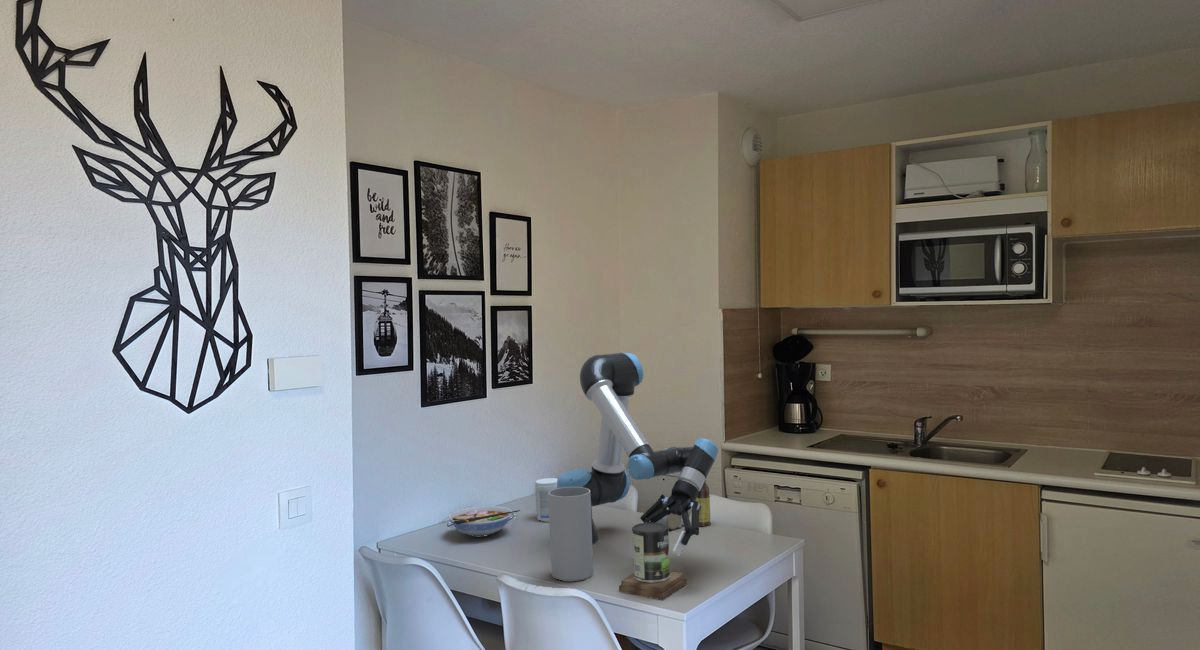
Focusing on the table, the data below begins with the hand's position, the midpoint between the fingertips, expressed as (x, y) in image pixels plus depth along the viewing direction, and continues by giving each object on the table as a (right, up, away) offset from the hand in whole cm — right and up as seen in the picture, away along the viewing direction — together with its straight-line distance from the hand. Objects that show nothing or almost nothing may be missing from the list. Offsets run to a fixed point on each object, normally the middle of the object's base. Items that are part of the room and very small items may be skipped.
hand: (657, 549), depth 223 cm
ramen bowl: (-58, -11, +58) cm, 83 cm away
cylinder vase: (-24, -11, +12) cm, 29 cm away
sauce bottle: (+20, -8, +60) cm, 64 cm away
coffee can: (-1, -8, -1) cm, 8 cm away
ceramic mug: (+9, -9, +59) cm, 60 cm away
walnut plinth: (-1, -10, -1) cm, 11 cm away
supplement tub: (-35, -10, +75) cm, 84 cm away
